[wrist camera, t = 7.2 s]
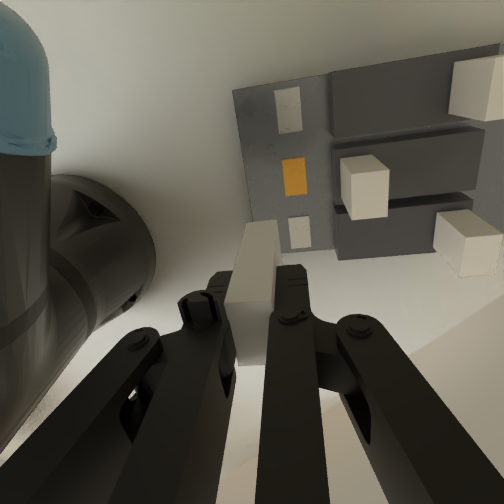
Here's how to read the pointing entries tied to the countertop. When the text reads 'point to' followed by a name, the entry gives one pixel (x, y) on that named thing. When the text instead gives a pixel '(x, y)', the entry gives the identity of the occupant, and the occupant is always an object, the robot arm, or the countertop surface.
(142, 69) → the countertop surface
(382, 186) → the handle
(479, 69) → the breaker housings
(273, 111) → the panel
